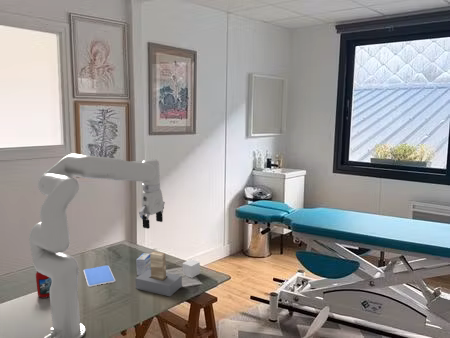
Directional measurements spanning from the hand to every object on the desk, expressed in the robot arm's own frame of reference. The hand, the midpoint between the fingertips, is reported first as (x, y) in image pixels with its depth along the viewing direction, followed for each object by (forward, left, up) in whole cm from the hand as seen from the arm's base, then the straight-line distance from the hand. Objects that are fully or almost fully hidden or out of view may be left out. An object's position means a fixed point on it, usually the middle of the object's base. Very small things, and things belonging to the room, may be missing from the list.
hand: (153, 224), depth 185 cm
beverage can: (-26, +40, -30) cm, 56 cm away
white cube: (+18, -9, -30) cm, 36 cm away
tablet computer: (-2, +31, -31) cm, 44 cm away
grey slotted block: (0, -2, -30) cm, 30 cm away
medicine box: (+10, +13, -30) cm, 34 cm away
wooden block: (0, -2, -25) cm, 25 cm away
